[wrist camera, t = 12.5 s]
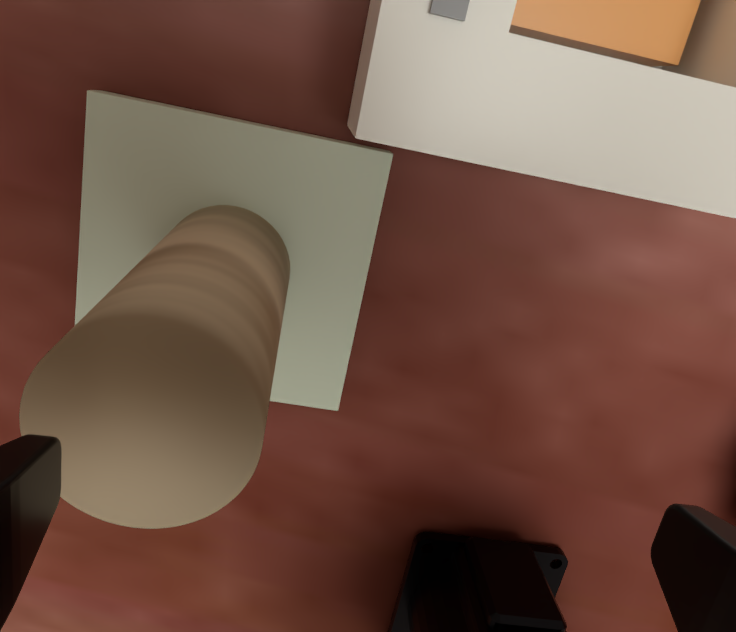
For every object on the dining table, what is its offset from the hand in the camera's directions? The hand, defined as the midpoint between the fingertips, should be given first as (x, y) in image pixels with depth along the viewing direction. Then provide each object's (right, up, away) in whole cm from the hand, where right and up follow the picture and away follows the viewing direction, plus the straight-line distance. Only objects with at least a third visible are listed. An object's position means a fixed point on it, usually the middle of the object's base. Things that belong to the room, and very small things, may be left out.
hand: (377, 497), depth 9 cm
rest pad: (-5, +5, +12) cm, 13 cm away
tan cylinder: (-5, +4, +11) cm, 12 cm away
